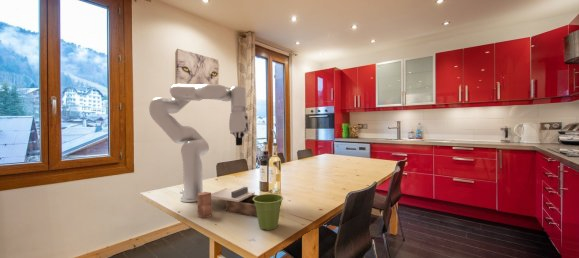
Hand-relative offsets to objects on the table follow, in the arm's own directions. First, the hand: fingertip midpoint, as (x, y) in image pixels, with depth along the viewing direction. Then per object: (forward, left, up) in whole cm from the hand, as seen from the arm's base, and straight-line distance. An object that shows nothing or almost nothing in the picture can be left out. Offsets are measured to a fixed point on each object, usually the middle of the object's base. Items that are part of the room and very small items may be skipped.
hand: (239, 145), depth 125 cm
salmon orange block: (-1, -24, -29) cm, 38 cm away
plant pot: (+30, -22, -29) cm, 47 cm away
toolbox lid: (+2, -9, -24) cm, 26 cm away
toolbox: (+13, -9, -29) cm, 33 cm away
